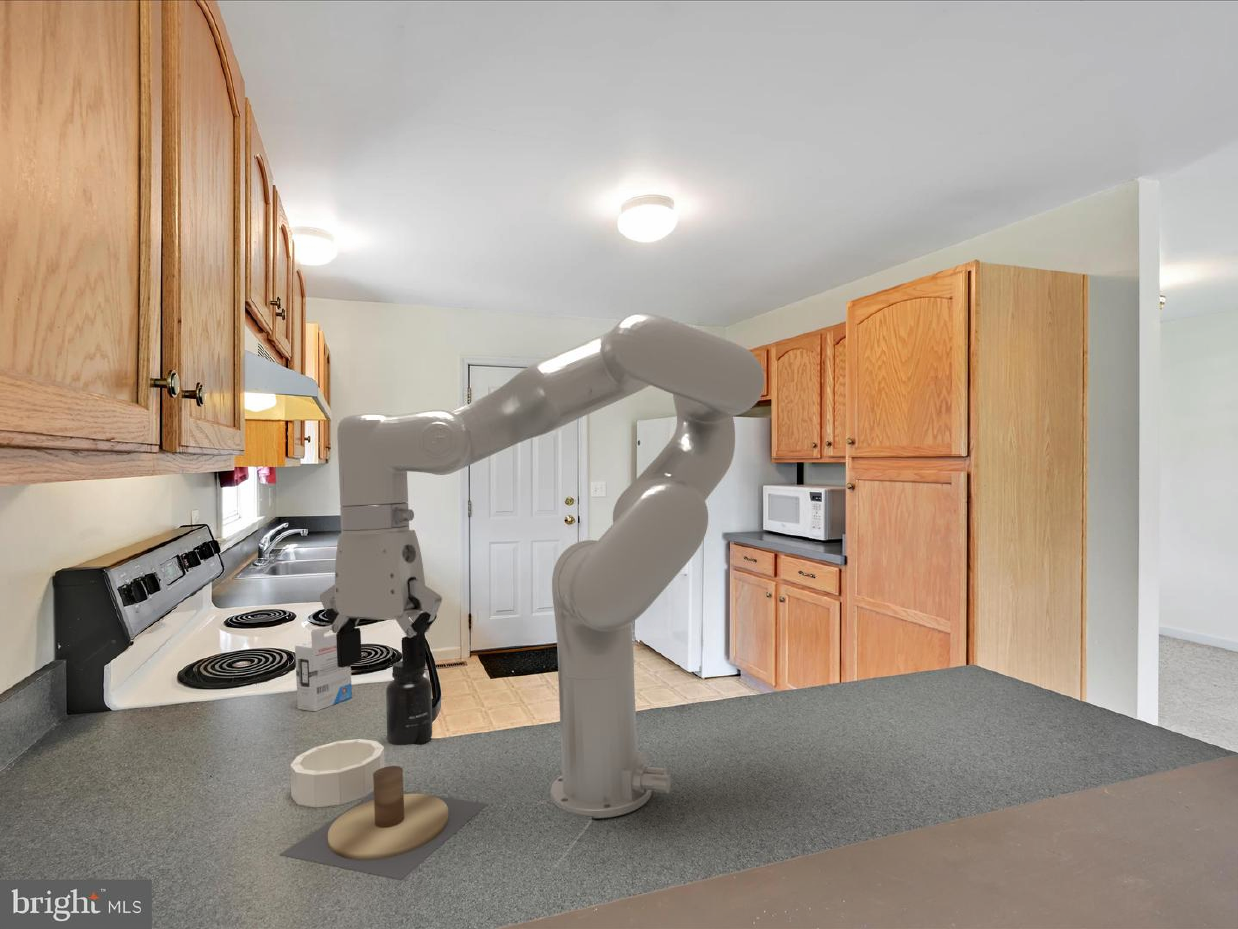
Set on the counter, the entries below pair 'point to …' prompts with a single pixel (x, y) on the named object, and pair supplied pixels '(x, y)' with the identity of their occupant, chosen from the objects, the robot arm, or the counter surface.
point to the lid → (388, 821)
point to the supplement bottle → (408, 707)
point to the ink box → (320, 673)
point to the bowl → (335, 772)
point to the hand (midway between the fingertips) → (381, 667)
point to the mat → (391, 867)
